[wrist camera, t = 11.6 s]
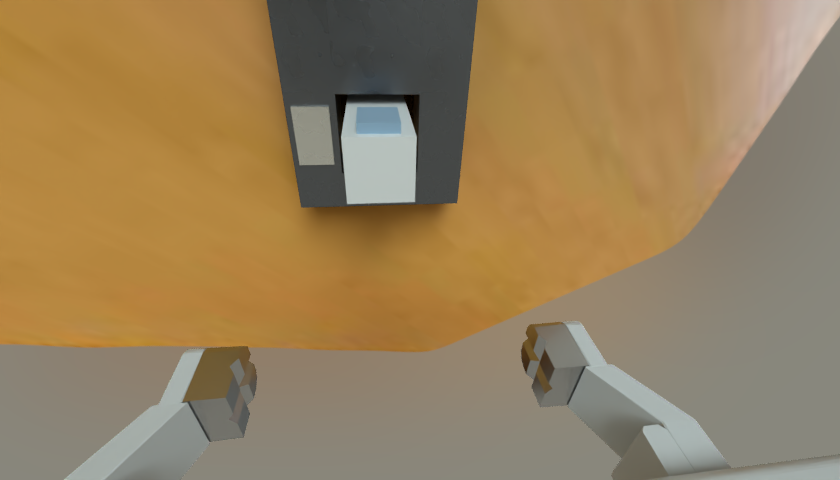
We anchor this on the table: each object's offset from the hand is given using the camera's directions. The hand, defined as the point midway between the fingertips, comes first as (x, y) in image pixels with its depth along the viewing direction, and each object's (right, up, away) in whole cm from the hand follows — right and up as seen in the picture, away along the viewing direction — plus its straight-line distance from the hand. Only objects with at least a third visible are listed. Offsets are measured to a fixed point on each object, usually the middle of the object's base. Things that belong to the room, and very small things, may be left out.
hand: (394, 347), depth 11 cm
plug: (-3, +13, +18) cm, 22 cm away
